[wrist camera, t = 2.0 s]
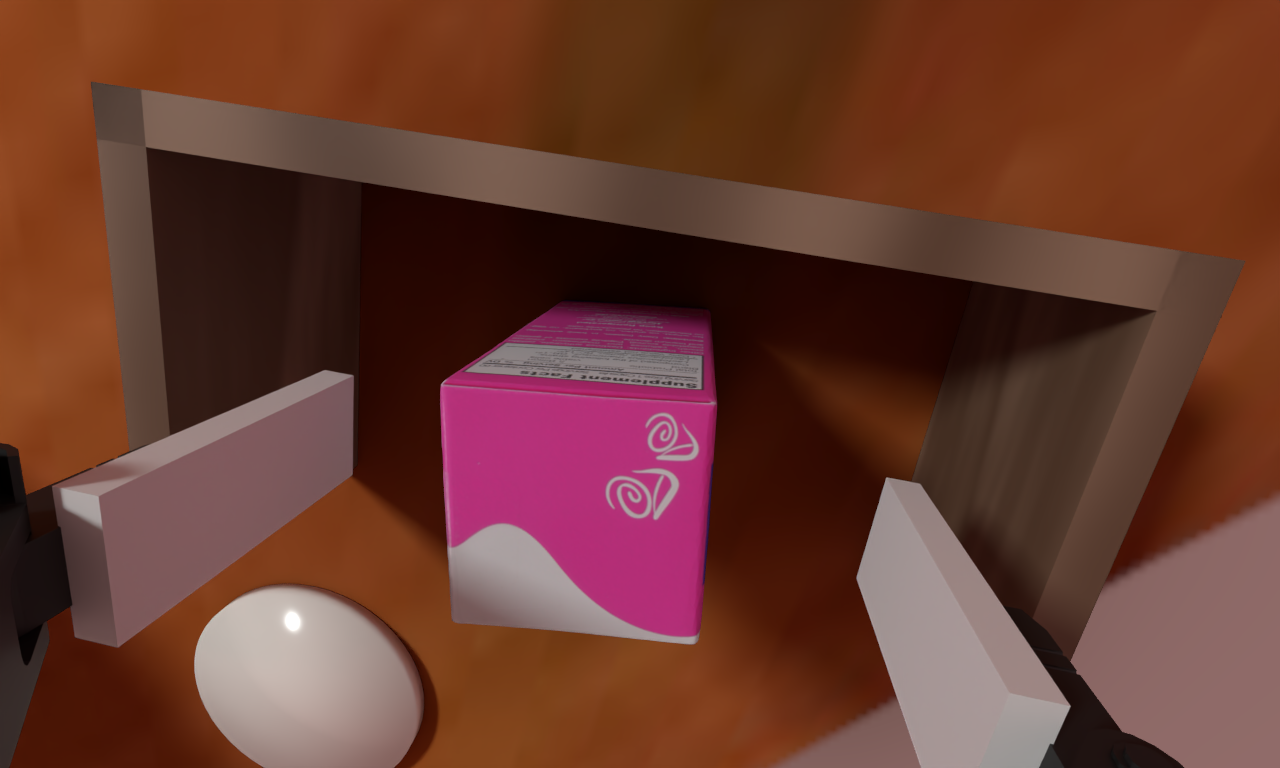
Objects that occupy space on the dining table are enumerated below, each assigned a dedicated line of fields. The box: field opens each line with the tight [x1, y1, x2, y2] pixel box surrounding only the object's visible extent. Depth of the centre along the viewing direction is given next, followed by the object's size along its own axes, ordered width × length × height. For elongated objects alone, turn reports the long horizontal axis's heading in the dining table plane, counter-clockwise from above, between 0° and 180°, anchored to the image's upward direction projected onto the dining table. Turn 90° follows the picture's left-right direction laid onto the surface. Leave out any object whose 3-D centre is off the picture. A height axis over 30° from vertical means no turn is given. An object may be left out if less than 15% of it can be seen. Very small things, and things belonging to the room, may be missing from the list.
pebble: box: [195, 584, 424, 768], centre depth 30 cm, size 11×11×1 cm
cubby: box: [91, 82, 1245, 661], centre depth 19 cm, size 24×13×9 cm, turn 81°
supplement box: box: [440, 300, 717, 644], centre depth 18 cm, size 6×6×12 cm
